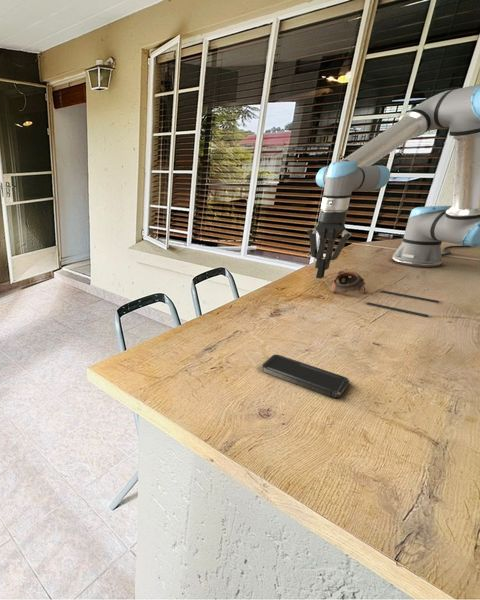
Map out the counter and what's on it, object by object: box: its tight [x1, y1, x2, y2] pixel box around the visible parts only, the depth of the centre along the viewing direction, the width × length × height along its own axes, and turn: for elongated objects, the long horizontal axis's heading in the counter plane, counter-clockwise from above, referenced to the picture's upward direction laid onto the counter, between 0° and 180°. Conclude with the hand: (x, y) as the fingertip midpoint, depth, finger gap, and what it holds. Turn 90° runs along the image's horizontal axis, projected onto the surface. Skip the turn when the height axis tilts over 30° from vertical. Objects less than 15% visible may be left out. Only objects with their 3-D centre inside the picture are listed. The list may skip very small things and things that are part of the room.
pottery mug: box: [330, 270, 366, 295], centre depth 120 cm, size 12×10×8 cm
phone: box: [261, 354, 350, 399], centre depth 76 cm, size 8×1×15 cm
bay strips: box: [366, 289, 440, 318], centre depth 109 cm, size 16×14×1 cm
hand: (319, 277), depth 125 cm, fingers closed
